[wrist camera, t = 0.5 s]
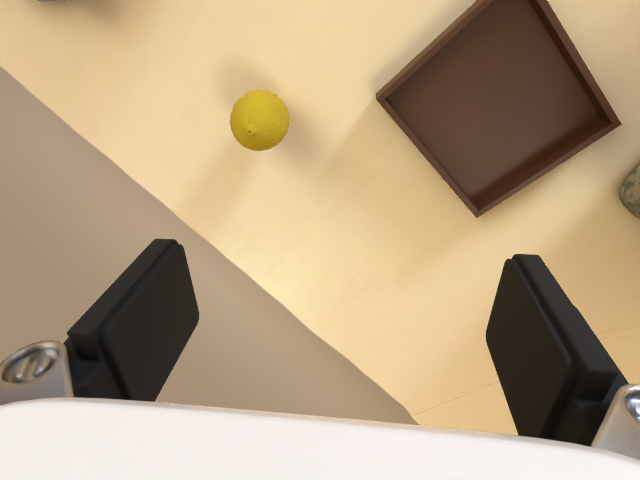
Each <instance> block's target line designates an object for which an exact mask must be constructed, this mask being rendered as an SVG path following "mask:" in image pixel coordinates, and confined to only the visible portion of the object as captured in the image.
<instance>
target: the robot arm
mask: <svg viewBox="0 0 640 480" xmlns="http://www.w3.org/2000/svg"><path fill="white" fill-rule="evenodd" d="M198 320H199V311H198V306H197V302H196V298H195V294H194V289H193V285H192V281H191V276H190V272H189V268H188V264H187V260H186V255H185V251H184V248H183V246H182V245H181V244H178V242H177V241H176V240H174V239H155V240H154V241H152V243H151V244H150V245H149V246H148V247H147V248H146V249H145V250H144V251H143V252H142V253H141V254H140V255H139V256H138V257H137V258H136V260H134V262H133V263H132V264H131V265H130V266H129V267H128V268H127V269H126V270H125V271H124V272H123V273H122V274H121V275H120V276H119V278H118V279H117V280H116V281H115V282H114V283H113V284H112V285H111V286H110V287H109V288H108V289H107V290H106V291H105V292H104V293H103V295H102V296H101V297H100V298H99V299H98V300H97V301H96V302H95V303H94V304H93V305H92V306H91V307H90V308H89V310H88V311H87V312H86V313H85V314H84V315H83V316H82V317H81V318H80V319H79V320H78V321H77V322H76V323H75V324H74V325H73V326H72V327H71V329H70V330H69V331H68V332H67V334H68V336H69V338H68V339H67V340H66V341H65V342H64V343H61V342H59V341H53V340H47V341H40V342H36V343H32V344H30V345H27V346H25V347H23V348H20V349H19V350H17V351H15V352H14V353H12V354H11V355H9V356H8V357H7V358H6V359H4V360H3V361H2V362H1V363H0V480H640V384H629V383H628V382H627V380H626V379H625V377H624V376H623V374H622V373H621V372H620V370H619V369H618V367H617V366H616V364H615V363H614V361H613V360H612V358H611V357H610V356H609V354H608V353H607V351H606V350H605V348H604V347H603V345H602V344H601V342H600V341H599V340H598V338H597V337H596V335H595V334H594V332H593V331H592V329H591V328H590V327H589V325H588V324H587V322H586V321H585V319H584V318H583V316H582V315H581V313H580V312H579V311H578V309H577V308H576V307H575V306H574V305H573V304H572V303H571V301H570V300H569V298H568V297H567V296H566V294H565V293H564V291H563V290H562V288H561V287H560V285H559V284H558V282H557V281H556V279H555V278H554V276H553V275H552V274H551V272H550V271H549V269H548V268H547V266H546V265H545V263H544V262H543V260H542V259H541V257H540V256H539V255H527V254H515V255H514V256H513V257H512V259H507V260H506V261H505V264H504V267H503V271H502V275H501V278H500V282H499V286H498V289H497V293H496V297H495V300H494V304H493V308H492V311H491V315H490V319H489V322H488V326H487V330H486V342H487V345H488V348H489V351H490V354H491V357H492V360H493V363H494V366H495V368H496V371H497V374H498V377H499V380H500V383H501V386H502V389H503V391H504V394H505V397H506V400H507V403H508V406H509V409H510V412H511V415H512V417H513V420H514V423H515V426H516V429H517V432H518V435H519V436H516V435H507V434H498V433H489V432H480V431H471V430H461V429H451V428H441V427H430V426H420V425H409V424H398V423H388V422H378V421H367V420H356V419H345V418H333V417H324V416H313V415H302V414H290V413H279V412H267V411H257V410H256V411H255V410H244V409H233V408H222V407H209V406H198V405H185V404H174V403H162V402H155V400H156V398H157V396H158V394H159V393H160V391H161V389H162V387H163V385H164V383H165V382H166V380H167V378H168V376H169V374H170V372H171V371H172V369H173V367H174V365H175V364H176V362H177V360H178V358H179V356H180V354H181V353H182V351H183V349H184V347H185V345H186V343H187V342H188V340H189V338H190V336H191V334H192V333H193V331H194V329H195V327H196V325H197V323H198Z"/></svg>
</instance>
